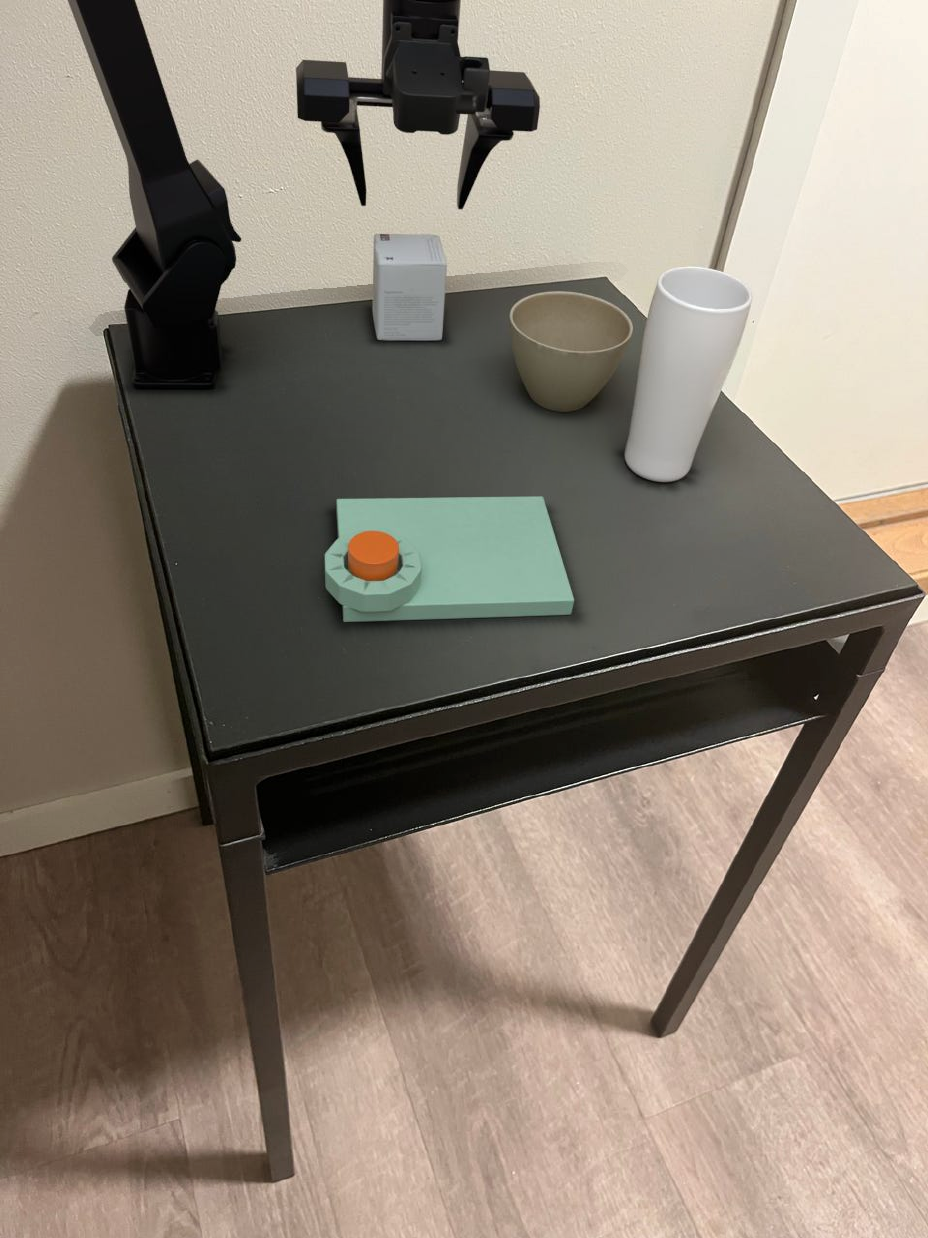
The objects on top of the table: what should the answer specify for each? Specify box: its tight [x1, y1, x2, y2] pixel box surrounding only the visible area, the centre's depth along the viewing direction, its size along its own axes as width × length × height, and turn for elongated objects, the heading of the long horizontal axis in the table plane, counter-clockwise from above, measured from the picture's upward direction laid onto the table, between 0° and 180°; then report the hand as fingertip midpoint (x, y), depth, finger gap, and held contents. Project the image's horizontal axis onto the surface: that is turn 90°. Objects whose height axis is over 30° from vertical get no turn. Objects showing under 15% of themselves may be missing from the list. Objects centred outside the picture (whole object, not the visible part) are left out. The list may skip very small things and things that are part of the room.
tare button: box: [348, 531, 399, 581], centre depth 61 cm, size 3×3×2 cm
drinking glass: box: [624, 265, 753, 483], centre depth 72 cm, size 7×7×15 cm
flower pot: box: [509, 290, 634, 413], centre depth 81 cm, size 10×10×7 cm
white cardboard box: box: [371, 233, 448, 342], centre depth 87 cm, size 6×6×7 cm
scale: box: [324, 495, 575, 623], centre depth 65 cm, size 16×12×3 cm
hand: (411, 205), depth 82 cm, fingers open, 8 cm apart
